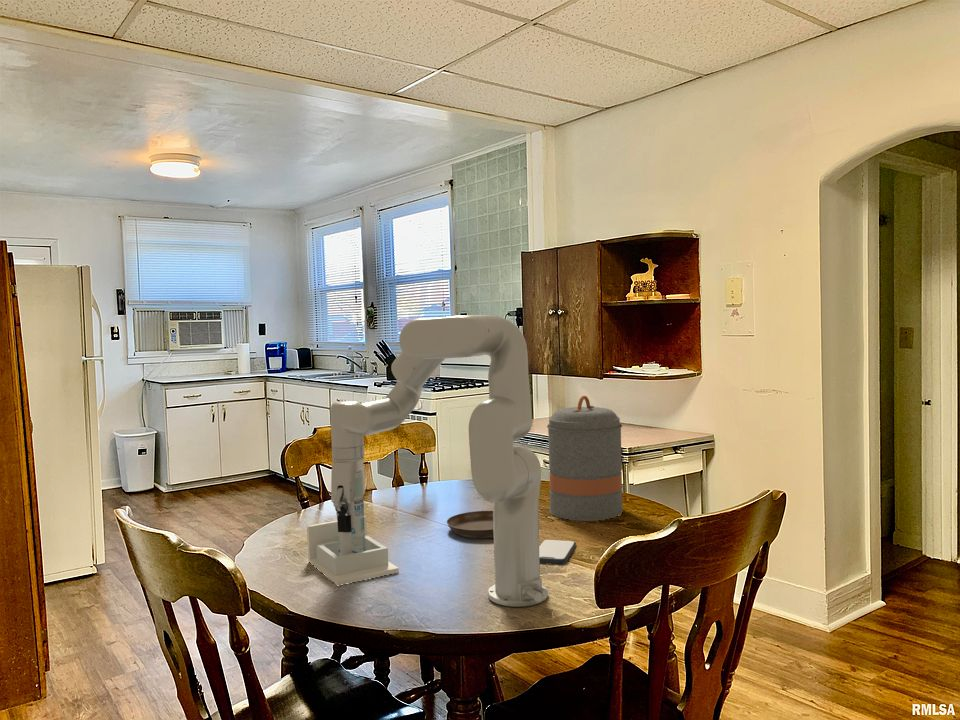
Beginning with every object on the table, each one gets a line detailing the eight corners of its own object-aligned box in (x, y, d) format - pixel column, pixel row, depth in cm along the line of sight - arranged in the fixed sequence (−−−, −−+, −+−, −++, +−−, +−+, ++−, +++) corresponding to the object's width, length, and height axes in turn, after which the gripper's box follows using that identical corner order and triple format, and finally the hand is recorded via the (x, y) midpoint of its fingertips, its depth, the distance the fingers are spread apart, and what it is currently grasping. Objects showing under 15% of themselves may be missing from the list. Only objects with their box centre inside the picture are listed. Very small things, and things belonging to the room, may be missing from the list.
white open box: (398, 572, 170) (397, 534, 169) (337, 586, 162) (335, 546, 162) (365, 551, 187) (364, 515, 187) (308, 562, 179) (306, 525, 179)
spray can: (357, 559, 170) (354, 475, 169) (333, 557, 172) (329, 473, 171) (370, 551, 176) (367, 469, 175) (346, 549, 179) (343, 468, 177)
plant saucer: (437, 526, 209) (437, 514, 209) (503, 517, 217) (503, 506, 216) (461, 546, 190) (460, 533, 190) (533, 535, 197) (532, 523, 197)
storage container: (607, 525, 204) (604, 401, 202) (536, 515, 216) (533, 398, 214) (634, 506, 223) (632, 393, 221) (567, 499, 235) (565, 391, 233)
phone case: (543, 544, 190) (528, 563, 175) (543, 538, 190) (528, 557, 175) (577, 547, 188) (565, 566, 172) (577, 541, 188) (565, 559, 172)
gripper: (348, 446, 182) (351, 517, 183) (317, 459, 166) (320, 537, 167) (376, 447, 181) (379, 518, 182) (347, 460, 164) (350, 539, 165)
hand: (351, 526), depth 174 cm, fingers closed on spray can, 6 cm apart
